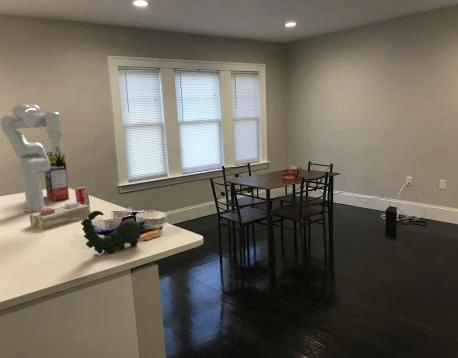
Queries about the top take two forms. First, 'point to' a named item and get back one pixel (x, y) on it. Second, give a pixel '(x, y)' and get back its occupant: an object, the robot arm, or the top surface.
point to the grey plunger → (71, 205)
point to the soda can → (82, 195)
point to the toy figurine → (124, 234)
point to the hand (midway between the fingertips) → (60, 166)
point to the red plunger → (47, 211)
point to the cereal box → (56, 180)
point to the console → (59, 216)
